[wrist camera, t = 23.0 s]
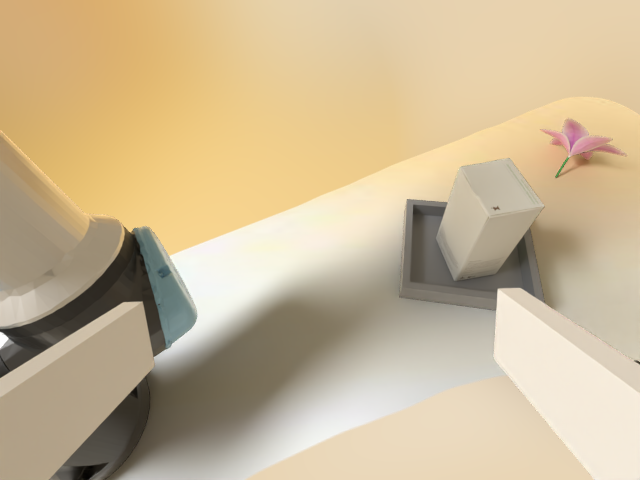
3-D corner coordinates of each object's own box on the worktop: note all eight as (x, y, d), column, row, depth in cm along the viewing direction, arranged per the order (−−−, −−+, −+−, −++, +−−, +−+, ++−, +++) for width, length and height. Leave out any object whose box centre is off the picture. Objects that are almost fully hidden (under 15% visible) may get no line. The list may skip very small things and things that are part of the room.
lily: (611, 189, 55) (649, 133, 50) (572, 190, 50) (610, 128, 46) (546, 165, 64) (573, 116, 60) (509, 164, 59) (534, 110, 55)
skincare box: (495, 275, 46) (550, 209, 33) (450, 283, 46) (488, 219, 33) (472, 229, 51) (513, 155, 38) (431, 236, 51) (458, 164, 38)
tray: (399, 297, 47) (402, 287, 44) (404, 212, 55) (407, 199, 52) (532, 315, 44) (545, 306, 41) (516, 222, 52) (526, 209, 49)
